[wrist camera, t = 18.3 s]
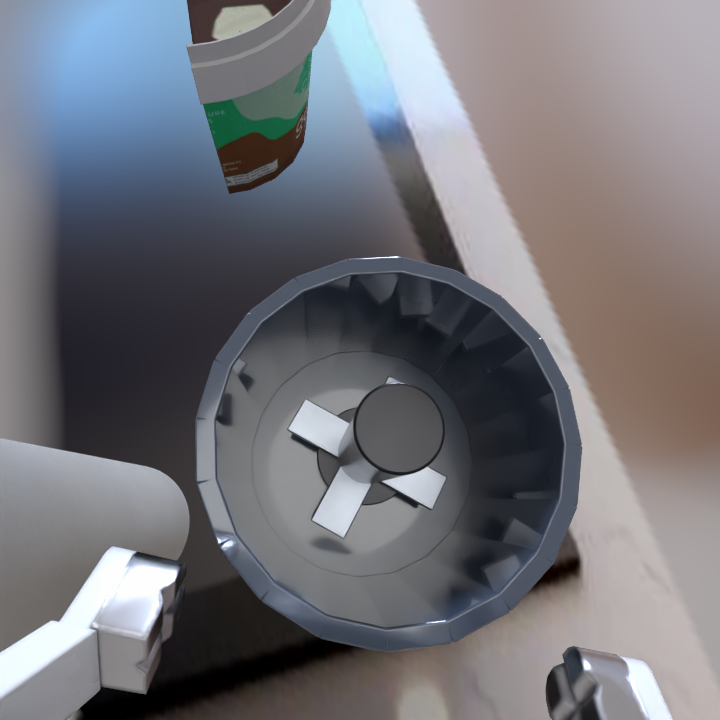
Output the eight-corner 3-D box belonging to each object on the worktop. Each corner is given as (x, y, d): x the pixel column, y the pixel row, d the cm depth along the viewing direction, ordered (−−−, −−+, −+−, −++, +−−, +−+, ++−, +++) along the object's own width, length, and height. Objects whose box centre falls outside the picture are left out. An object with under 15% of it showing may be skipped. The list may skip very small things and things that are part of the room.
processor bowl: (190, 446, 23) (111, 412, 14) (371, 301, 26) (403, 195, 17) (352, 647, 21) (382, 757, 12) (526, 468, 24) (654, 450, 15)
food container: (343, 204, 27) (361, 46, 18) (232, 217, 27) (187, 59, 17) (307, 33, 30) (306, -181, 21) (207, 39, 30) (157, -181, 20)
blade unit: (257, 488, 22) (216, 480, 13) (334, 356, 24) (348, 264, 15) (396, 566, 22) (461, 620, 12) (462, 427, 24) (562, 379, 14)
